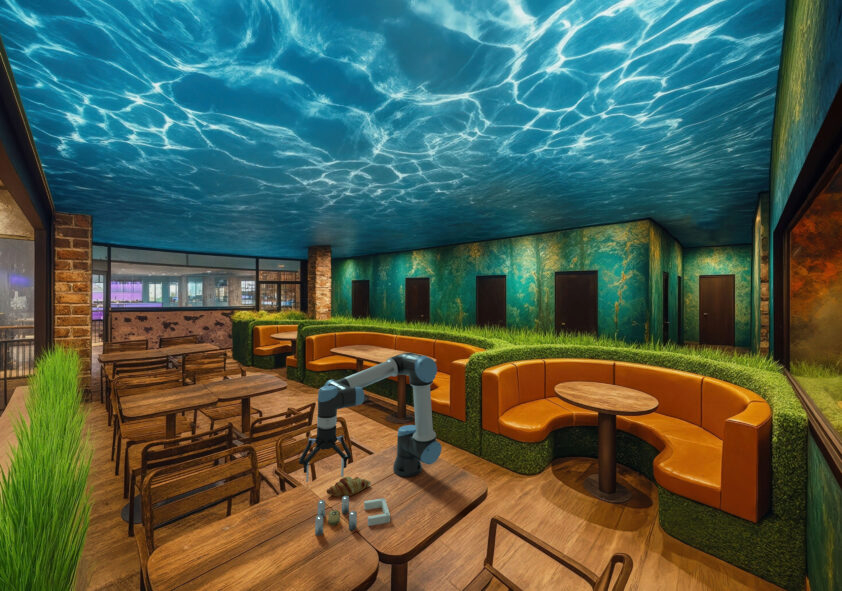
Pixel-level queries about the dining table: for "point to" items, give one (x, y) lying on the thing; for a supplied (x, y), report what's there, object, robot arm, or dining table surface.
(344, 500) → the spacers
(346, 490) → the croissant
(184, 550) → the dining table surface
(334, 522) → the gold round piece
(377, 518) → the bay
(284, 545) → the dining table surface
